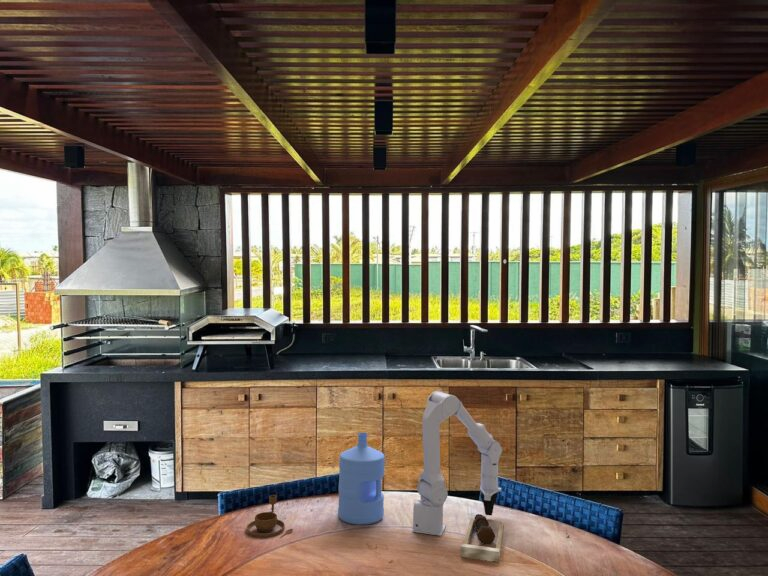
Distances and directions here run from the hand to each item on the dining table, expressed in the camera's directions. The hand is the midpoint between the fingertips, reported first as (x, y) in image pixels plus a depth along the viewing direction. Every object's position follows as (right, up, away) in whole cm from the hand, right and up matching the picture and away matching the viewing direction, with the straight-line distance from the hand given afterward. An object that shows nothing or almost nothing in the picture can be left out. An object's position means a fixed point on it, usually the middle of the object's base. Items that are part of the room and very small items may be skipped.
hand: (488, 514), depth 185 cm
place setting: (-72, -1, -9) cm, 73 cm away
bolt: (-4, -2, -12) cm, 13 cm away
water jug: (-44, -1, 0) cm, 44 cm away
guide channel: (-5, -1, -18) cm, 19 cm away
